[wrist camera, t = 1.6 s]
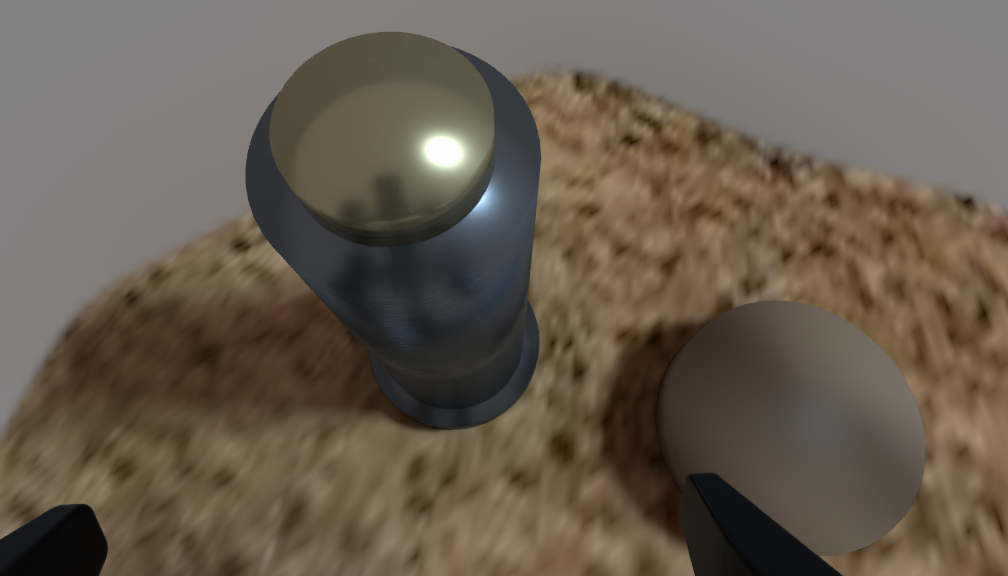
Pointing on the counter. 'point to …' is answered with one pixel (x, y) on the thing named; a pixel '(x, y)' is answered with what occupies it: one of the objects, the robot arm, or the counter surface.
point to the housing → (410, 216)
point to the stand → (796, 422)
